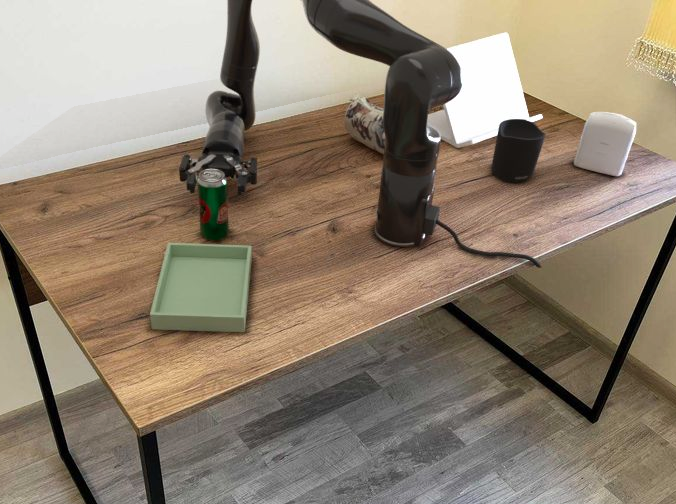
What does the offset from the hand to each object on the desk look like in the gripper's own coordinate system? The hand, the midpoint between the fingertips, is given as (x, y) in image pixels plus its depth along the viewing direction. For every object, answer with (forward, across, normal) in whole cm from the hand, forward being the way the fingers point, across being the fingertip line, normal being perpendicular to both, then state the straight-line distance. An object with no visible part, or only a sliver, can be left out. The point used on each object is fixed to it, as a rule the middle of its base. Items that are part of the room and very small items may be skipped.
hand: (215, 189), depth 133 cm
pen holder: (-23, +60, +7) cm, 64 cm away
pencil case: (-30, +34, +7) cm, 46 cm away
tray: (+21, 0, +7) cm, 22 cm away
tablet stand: (-46, +56, +7) cm, 73 cm away
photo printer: (-27, +79, +7) cm, 84 cm away
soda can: (+4, 0, +7) cm, 8 cm away
